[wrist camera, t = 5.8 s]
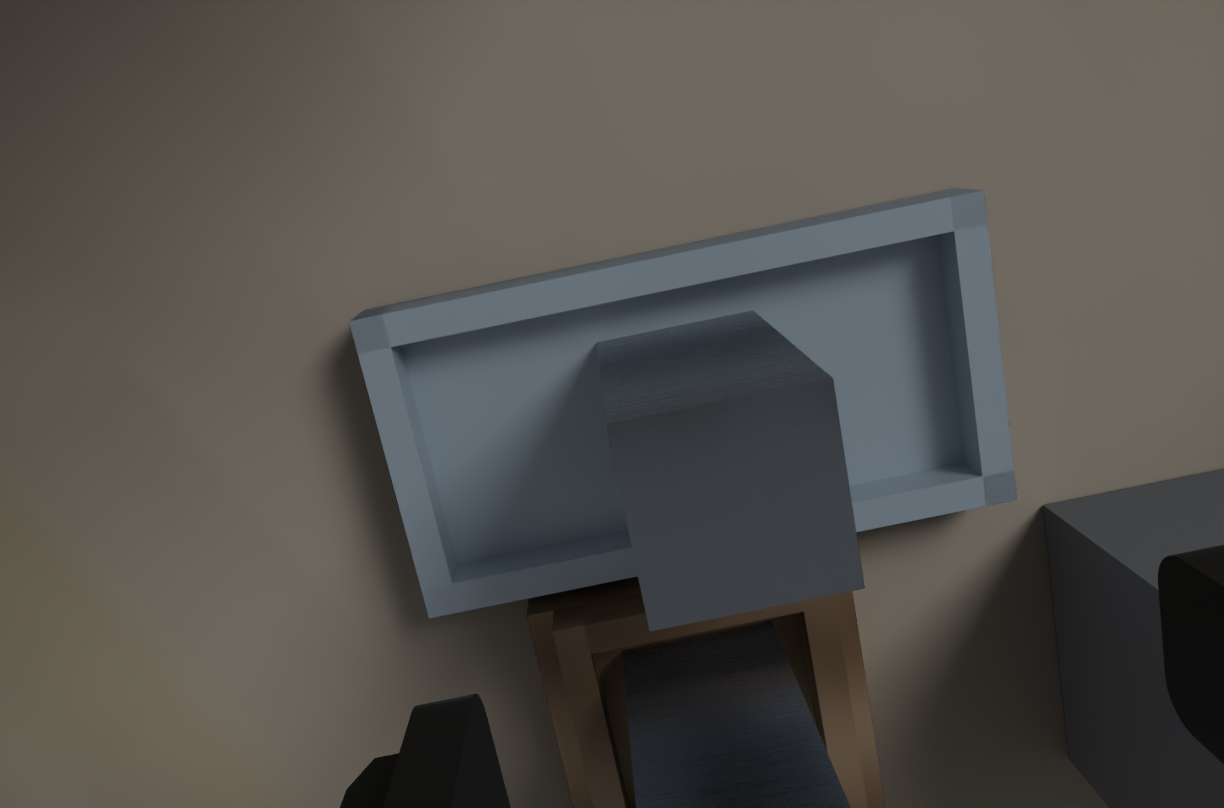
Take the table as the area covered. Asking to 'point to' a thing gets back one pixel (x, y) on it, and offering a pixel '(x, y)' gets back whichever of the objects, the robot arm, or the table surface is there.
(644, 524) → the block
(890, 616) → the table surface
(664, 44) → the table surface
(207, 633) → the table surface
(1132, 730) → the grey cube holder
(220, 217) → the table surface
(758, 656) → the seated billet
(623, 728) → the tray
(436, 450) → the tray
